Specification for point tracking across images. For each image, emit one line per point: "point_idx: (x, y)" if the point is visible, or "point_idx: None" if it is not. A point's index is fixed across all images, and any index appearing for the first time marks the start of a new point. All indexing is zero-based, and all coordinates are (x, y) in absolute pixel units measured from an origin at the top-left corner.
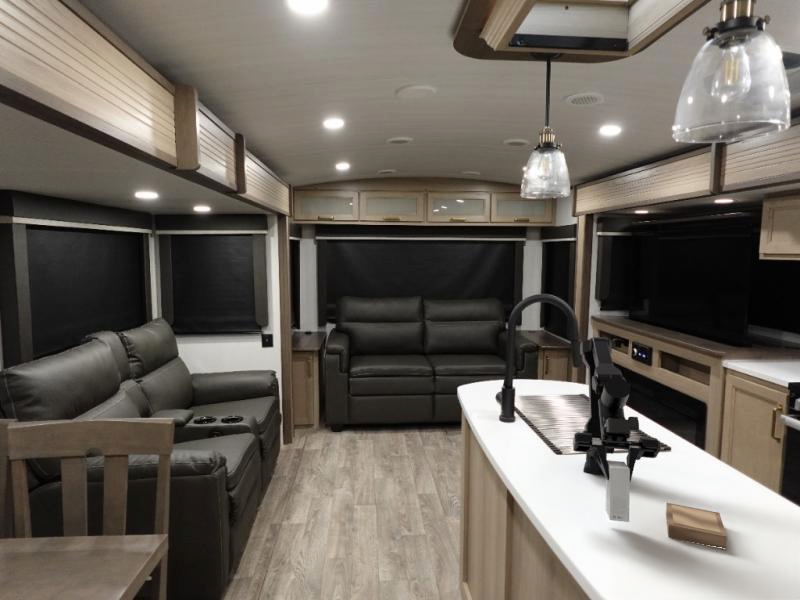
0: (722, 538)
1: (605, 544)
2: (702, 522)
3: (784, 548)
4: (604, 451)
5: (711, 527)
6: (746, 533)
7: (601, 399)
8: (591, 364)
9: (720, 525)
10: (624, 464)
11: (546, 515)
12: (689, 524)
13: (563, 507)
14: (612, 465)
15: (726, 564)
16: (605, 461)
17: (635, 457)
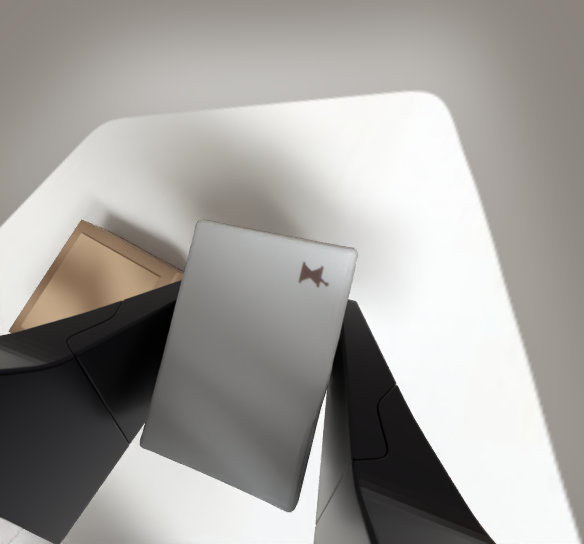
0: (93, 225)
1: (366, 250)
2: (86, 278)
3: (3, 239)
4: (388, 528)
5: (84, 255)
6: (22, 292)
7: None
8: None
9: (56, 267)
10: (177, 355)
11: (512, 417)
12: (125, 269)
13: None
14: (309, 321)
15: (145, 186)
16: (362, 393)
17: (8, 342)
